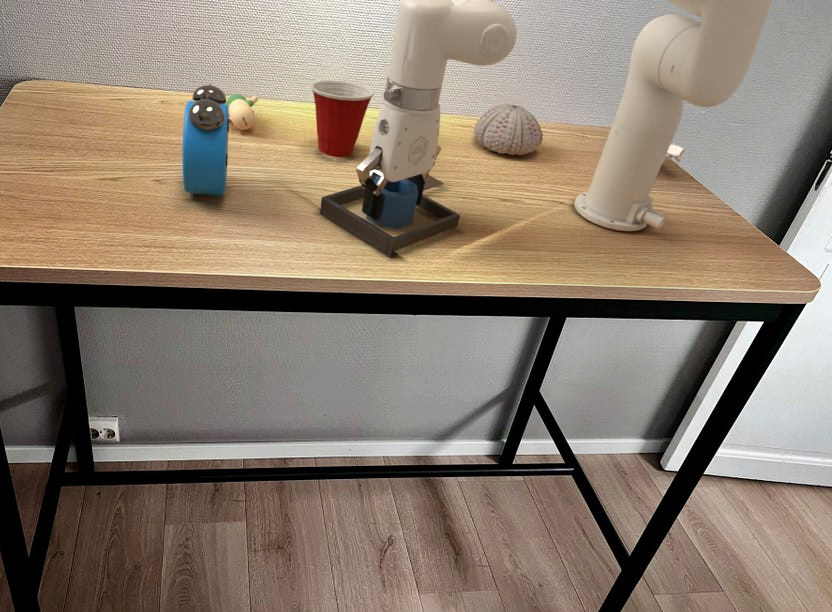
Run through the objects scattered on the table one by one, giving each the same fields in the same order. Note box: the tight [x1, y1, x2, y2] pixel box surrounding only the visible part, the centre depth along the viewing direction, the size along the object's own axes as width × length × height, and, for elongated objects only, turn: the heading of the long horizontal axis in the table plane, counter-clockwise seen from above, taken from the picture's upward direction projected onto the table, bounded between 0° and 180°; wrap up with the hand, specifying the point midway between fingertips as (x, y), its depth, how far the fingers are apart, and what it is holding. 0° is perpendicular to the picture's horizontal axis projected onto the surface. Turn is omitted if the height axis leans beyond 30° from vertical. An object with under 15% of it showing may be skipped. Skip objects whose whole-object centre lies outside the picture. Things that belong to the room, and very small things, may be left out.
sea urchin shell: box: [473, 103, 544, 156], centre depth 141 cm, size 13×14×8 cm
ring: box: [365, 177, 418, 230], centre depth 109 cm, size 7×7×6 cm
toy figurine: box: [225, 93, 259, 131], centre depth 133 cm, size 8×4×12 cm
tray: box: [319, 184, 461, 258], centre depth 111 cm, size 15×15×3 cm
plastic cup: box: [310, 79, 375, 158], centre depth 125 cm, size 11×11×12 cm
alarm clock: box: [182, 83, 230, 200], centre depth 107 cm, size 13×6×15 cm, turn 6°
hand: (391, 208), depth 110 cm, fingers open, 8 cm apart
